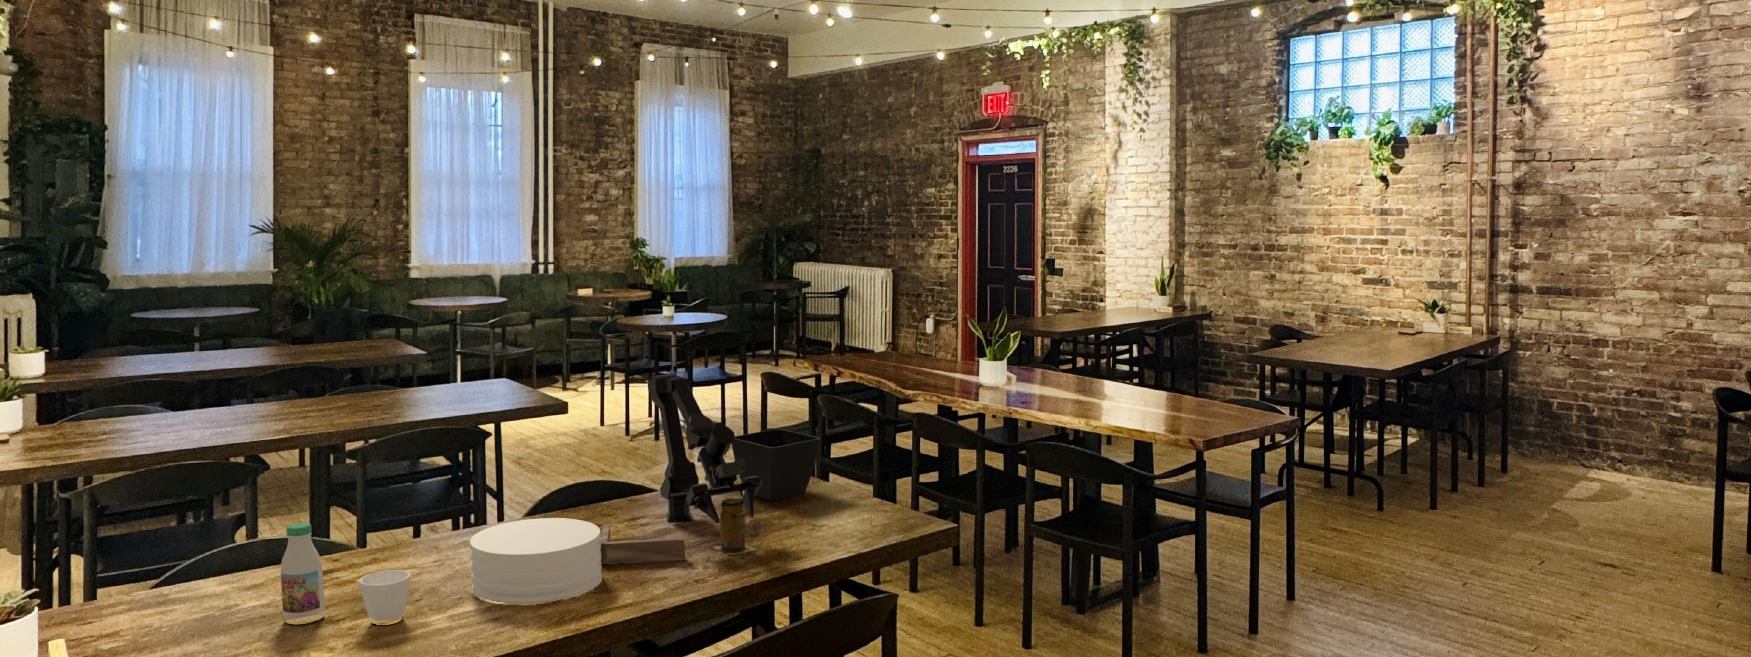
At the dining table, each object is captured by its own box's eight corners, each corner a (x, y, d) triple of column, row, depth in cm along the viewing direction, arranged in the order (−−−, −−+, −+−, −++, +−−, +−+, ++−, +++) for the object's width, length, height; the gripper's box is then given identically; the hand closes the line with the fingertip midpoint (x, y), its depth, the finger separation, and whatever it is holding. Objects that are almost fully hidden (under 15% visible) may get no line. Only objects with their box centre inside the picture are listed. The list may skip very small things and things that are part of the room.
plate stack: (533, 559, 284) (531, 512, 282) (627, 575, 271) (625, 526, 270) (444, 595, 259) (441, 544, 257) (543, 614, 246) (541, 561, 245)
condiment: (737, 542, 296) (736, 495, 294) (756, 550, 289) (755, 502, 288) (712, 548, 291) (711, 500, 290) (731, 556, 285) (730, 507, 283)
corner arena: (604, 543, 295) (603, 523, 295) (683, 538, 299) (682, 519, 298) (600, 564, 278) (600, 544, 278) (684, 560, 282) (683, 539, 281)
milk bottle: (292, 613, 247) (286, 520, 245) (331, 612, 248) (325, 519, 245) (277, 627, 239) (271, 531, 237) (316, 625, 240) (310, 530, 238)
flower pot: (822, 493, 343) (821, 436, 341) (773, 506, 329) (772, 447, 327) (778, 482, 356) (778, 427, 354) (729, 494, 342) (728, 437, 340)
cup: (362, 633, 236) (360, 588, 235) (358, 617, 245) (356, 574, 243) (416, 624, 240) (413, 580, 239) (410, 609, 249) (408, 566, 248)
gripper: (689, 453, 286) (710, 507, 278) (758, 444, 296) (780, 496, 288) (677, 478, 294) (697, 532, 286) (744, 468, 304) (765, 520, 296)
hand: (735, 519), depth 289 cm, fingers open, 9 cm apart
